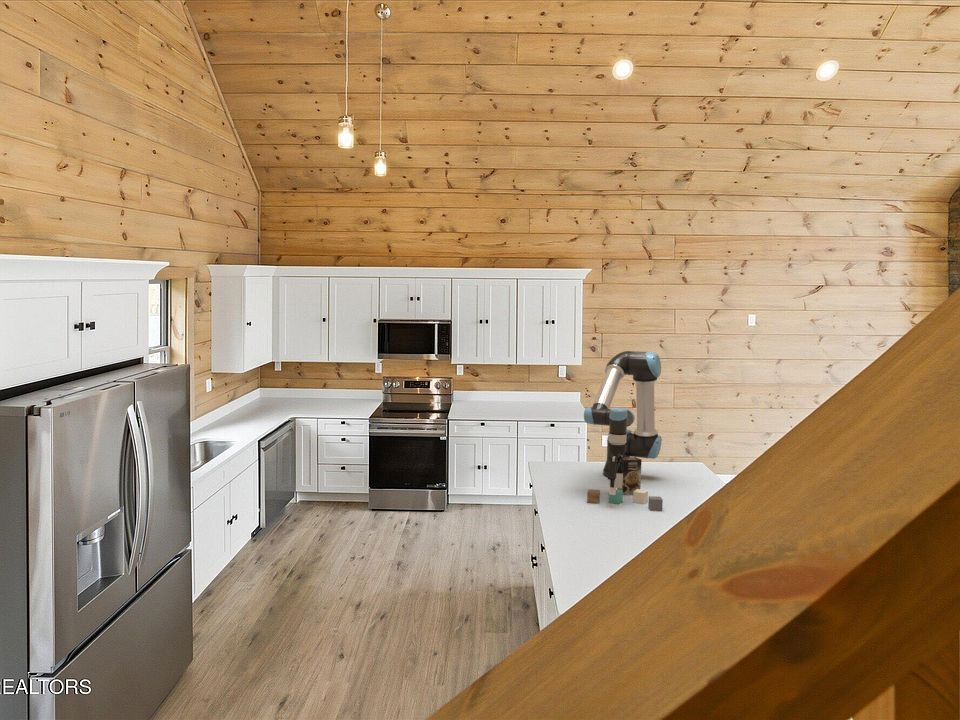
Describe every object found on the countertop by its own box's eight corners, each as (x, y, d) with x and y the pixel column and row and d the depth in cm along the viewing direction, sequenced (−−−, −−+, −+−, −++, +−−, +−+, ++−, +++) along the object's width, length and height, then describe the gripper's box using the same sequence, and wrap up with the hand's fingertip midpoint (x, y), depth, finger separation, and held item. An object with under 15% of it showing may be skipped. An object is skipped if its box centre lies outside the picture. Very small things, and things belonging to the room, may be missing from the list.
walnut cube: (588, 500, 343) (588, 489, 343) (599, 500, 342) (599, 489, 342) (587, 503, 339) (587, 491, 338) (598, 503, 337) (599, 492, 337)
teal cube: (611, 500, 344) (611, 489, 344) (622, 501, 342) (622, 490, 342) (608, 502, 339) (609, 491, 339) (619, 504, 337) (620, 493, 337)
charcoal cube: (648, 507, 333) (648, 496, 332) (659, 507, 333) (660, 496, 332) (650, 510, 328) (650, 499, 327) (662, 511, 328) (662, 499, 327)
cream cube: (636, 500, 345) (637, 489, 345) (647, 501, 342) (648, 490, 342) (633, 502, 341) (633, 491, 340) (644, 504, 338) (644, 493, 338)
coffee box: (622, 494, 353) (624, 460, 352) (616, 491, 359) (617, 457, 358) (640, 493, 356) (642, 459, 354) (634, 490, 362) (635, 456, 360)
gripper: (615, 438, 351) (613, 484, 353) (602, 447, 328) (600, 496, 330) (631, 439, 349) (629, 486, 350) (619, 448, 326) (618, 498, 327)
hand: (615, 491), depth 340 cm, fingers open, 13 cm apart
